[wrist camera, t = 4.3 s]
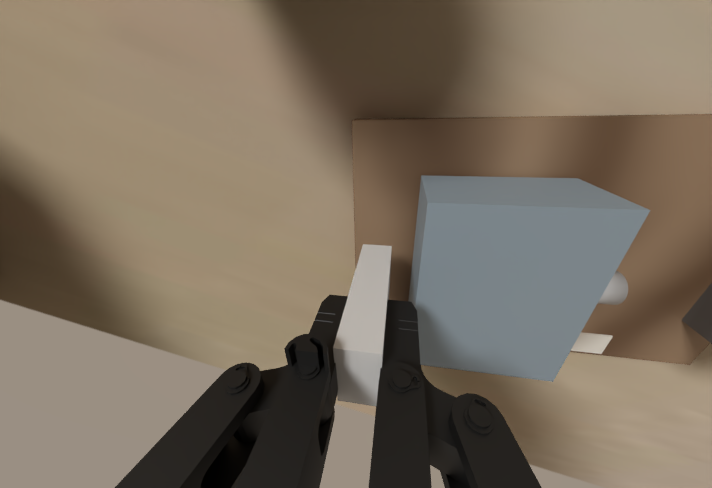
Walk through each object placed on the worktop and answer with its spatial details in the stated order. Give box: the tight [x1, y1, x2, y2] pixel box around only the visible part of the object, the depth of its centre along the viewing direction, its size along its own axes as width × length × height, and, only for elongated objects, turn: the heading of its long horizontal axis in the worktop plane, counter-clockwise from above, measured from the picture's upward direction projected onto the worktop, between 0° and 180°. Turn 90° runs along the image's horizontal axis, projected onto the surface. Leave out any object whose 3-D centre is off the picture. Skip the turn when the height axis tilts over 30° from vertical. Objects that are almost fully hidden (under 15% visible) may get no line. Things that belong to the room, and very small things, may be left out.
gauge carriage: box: [408, 175, 650, 382], centre depth 13 cm, size 9×11×4 cm
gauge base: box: [352, 114, 712, 365], centre depth 13 cm, size 21×14×5 cm, turn 91°
